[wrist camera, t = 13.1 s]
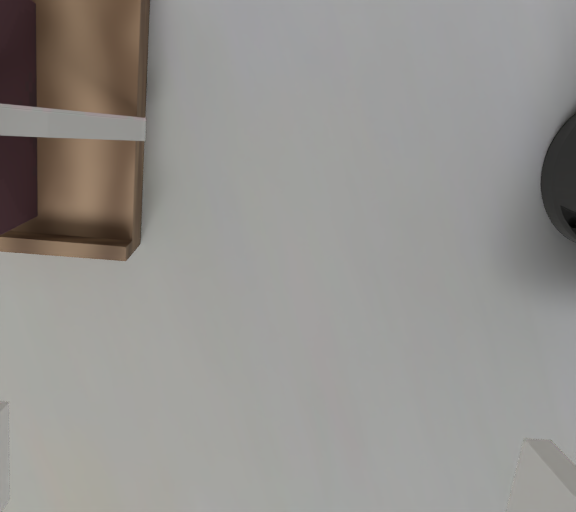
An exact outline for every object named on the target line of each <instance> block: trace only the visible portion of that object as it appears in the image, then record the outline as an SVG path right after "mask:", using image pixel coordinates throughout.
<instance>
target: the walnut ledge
mask: <svg viewBox="0 0 576 512" xmlns="http://www.w3.org/2000/svg"><path fill="white" fill-rule="evenodd" d="M31 1H33V2H34V3H36V74H37V107H41V108H51V109H61V110H71V111H81V112H92V113H102V114H112V115H122V116H132V117H142V118H145V111H146V85H147V59H148V34H149V8H150V0H31ZM143 162H144V141H130V140H102V139H75V138H48V137H37V197H38V216H37V217H35V218H33V219H31V220H29V221H27V222H25V223H23V224H21V225H19V226H17V227H16V228H14V229H12V230H10V231H8V232H6V233H4V234H2V235H0V251H2V252H14V253H27V254H40V255H53V256H66V257H79V258H92V259H105V260H118V261H126V260H127V259H128V258H129V257H130V256H131V254H132V253H133V252H134V251H135V250H136V249H137V247H138V246H139V245H140V239H141V214H142V188H143Z"/></svg>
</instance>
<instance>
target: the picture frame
mask: <svg viewBox="0 0 576 512" xmlns="http://www.w3.org/2000/svg"><path fill="white" fill-rule="evenodd" d="M37 137H48V138H75V139H102V140H130V141H145V140H146V118H142V117H132V116H122V115H112V114H102V113H92V112H81V111H71V110H61V109H51V108H41V107H37V74H36V3H34V2H33V1H31V0H0V235H2V234H4V233H6V232H8V231H10V230H12V229H14V228H16V227H17V226H19V225H21V224H23V223H25V222H27V221H29V220H31V219H33V218H35V217H37V216H38V197H37Z"/></svg>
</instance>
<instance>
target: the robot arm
mask: <svg viewBox="0 0 576 512" xmlns="http://www.w3.org/2000/svg"><path fill="white" fill-rule="evenodd" d="M541 192H542V199H543V203H544V207H545V209H546V212H547V214H548V216H549V218H550V220H551V222H552V223H553V225H554V226H555V227H556V228H557V229H558V231H559V232H560V233H562V234H563V235H564V236H565V237H567V238H568V239H569V240H571V241H573V242H575V243H576V114H575V115H574V116H573V117H571V118H570V119H569V120H568V121H567V122H566V123H565V125H564V126H563V127H562V128H561V130H560V131H559V132H558V134H557V135H556V137H555V138H554V140H553V142H552V144H551V146H550V148H549V150H548V152H547V155H546V158H545V161H544V165H543V170H542V177H541ZM9 500H10V466H9V402H4V401H0V512H2V511H3V509H4V508H5V506H6V504H7V503H8V501H9ZM506 512H576V466H575V465H574V464H573V462H572V461H571V460H570V459H569V458H568V457H567V456H566V455H565V454H564V453H563V452H562V451H561V450H560V449H559V448H558V447H557V446H556V445H555V444H554V443H553V441H552V440H542V439H528V438H524V440H523V444H522V448H521V452H520V456H519V460H518V464H517V468H516V472H515V476H514V480H513V484H512V488H511V492H510V496H509V500H508V504H507V508H506Z"/></svg>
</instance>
